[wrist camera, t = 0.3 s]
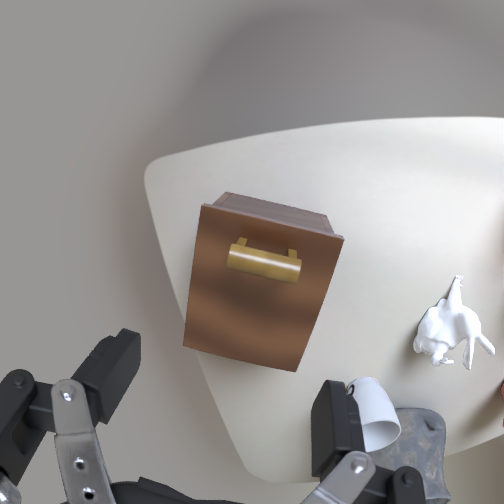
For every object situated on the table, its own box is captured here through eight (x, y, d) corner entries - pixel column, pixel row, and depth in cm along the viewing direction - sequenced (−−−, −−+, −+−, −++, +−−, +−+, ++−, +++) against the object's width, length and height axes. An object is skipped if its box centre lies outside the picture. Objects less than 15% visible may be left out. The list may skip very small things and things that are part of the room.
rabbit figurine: (458, 271, 34) (494, 308, 25) (483, 298, 35) (515, 335, 26) (400, 335, 39) (420, 382, 30) (429, 356, 40) (449, 400, 31)
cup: (340, 371, 42) (347, 423, 33) (392, 367, 41) (408, 416, 32) (335, 405, 45) (339, 454, 36) (382, 401, 44) (393, 448, 35)
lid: (203, 203, 25) (184, 219, 20) (342, 235, 25) (354, 259, 20) (185, 341, 31) (169, 373, 26) (295, 367, 30) (295, 403, 26)
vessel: (342, 388, 43) (354, 502, 25) (456, 386, 42) (494, 474, 23) (313, 457, 51) (311, 542, 33) (410, 453, 50) (425, 528, 31)
